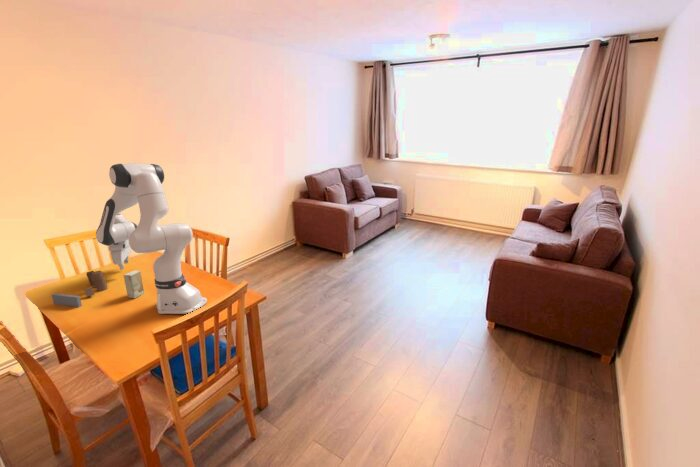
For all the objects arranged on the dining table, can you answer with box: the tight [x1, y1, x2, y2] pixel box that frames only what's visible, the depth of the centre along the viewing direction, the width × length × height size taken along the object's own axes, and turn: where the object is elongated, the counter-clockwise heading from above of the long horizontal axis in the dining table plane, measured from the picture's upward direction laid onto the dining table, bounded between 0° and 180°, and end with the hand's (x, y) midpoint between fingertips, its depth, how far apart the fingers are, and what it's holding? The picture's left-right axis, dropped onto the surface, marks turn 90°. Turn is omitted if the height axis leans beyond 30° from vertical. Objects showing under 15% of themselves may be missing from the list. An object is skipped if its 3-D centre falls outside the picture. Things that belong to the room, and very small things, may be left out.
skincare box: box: [123, 270, 145, 299], centre depth 166 cm, size 6×4×12 cm
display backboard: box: [51, 292, 83, 308], centre depth 157 cm, size 14×2×5 cm, turn 79°
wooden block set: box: [83, 270, 108, 298], centre depth 171 cm, size 18×9×10 cm, turn 38°
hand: (124, 266), depth 188 cm, fingers open, 8 cm apart
